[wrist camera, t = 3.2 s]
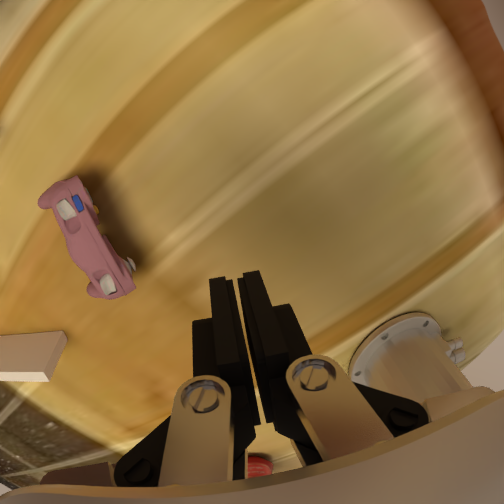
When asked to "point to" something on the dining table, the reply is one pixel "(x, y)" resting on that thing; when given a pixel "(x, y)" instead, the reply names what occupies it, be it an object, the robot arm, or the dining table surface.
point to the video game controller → (88, 239)
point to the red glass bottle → (258, 467)
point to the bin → (30, 356)
